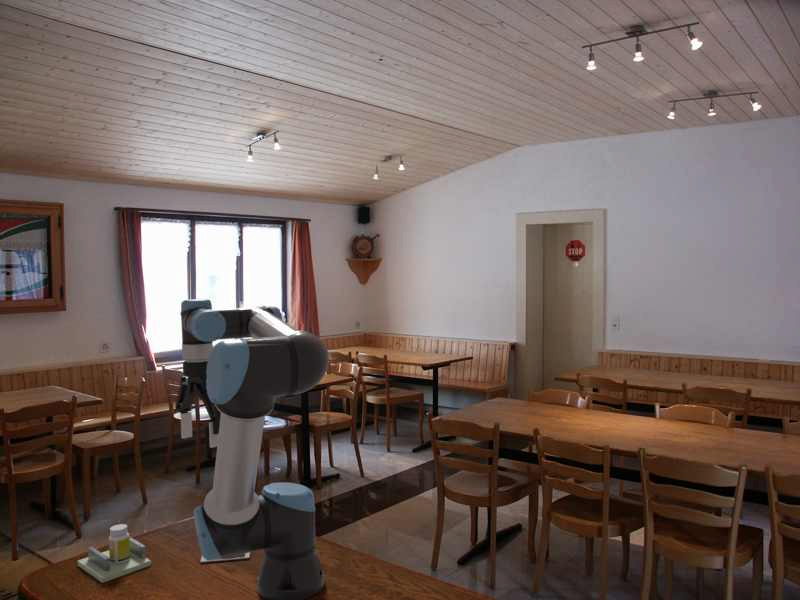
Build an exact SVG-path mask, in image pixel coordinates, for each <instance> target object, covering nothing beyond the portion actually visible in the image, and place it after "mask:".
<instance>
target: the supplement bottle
mask: <svg viewBox="0 0 800 600" xmlns="http://www.w3.org/2000/svg"><path fill="white" fill-rule="evenodd" d="M109 534H110V535H109V536H108V550H109V556H110V563H112V564H121V563H125V562H127V561H128V560H129V559H130V537H131V536H130V533H129V532H128V525H127V524H124V523H120V524H115V525H112V526H111V527H110V528H109Z"/></svg>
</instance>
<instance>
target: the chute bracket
mask: <svg viewBox="0 0 800 600" xmlns="http://www.w3.org/2000/svg"><path fill="white" fill-rule="evenodd" d="M129 537H130V552H131V553H133V554H135V555H136V556H138V557H140V558H141V559H144V558H147V553H146V552H147V550H146V545H144V543H142V542H140V541H138V540H136V539H134V538H132V537H131V536H129ZM87 557H88V560H90V561H91V562H92V563H94V564H95V565H97V566H98V567H100V568H101V569H103V570H104V571H106V572H107V571H110V558H109V557H107V556H106V555H104V554H103V553H102V552H101V551H99V550H98V549H97V548H95V547H93V546H90V547H89V546H88V547H87Z"/></svg>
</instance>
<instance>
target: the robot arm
mask: <svg viewBox="0 0 800 600" xmlns="http://www.w3.org/2000/svg"><path fill="white" fill-rule="evenodd" d="M179 315H180V316H181V317H180V320H181V321H180V322H181V340H182V341H181V342H182V343H181V349H182V351H181V353H182V356H181V357H182V360H184V361H183V362H182V374H183V376H182V375H181V376H180V386H179V390H178V393H177V398H176V402H175V406H174V409H175V410H178V413H180V431H181V433H180V436H181V437H180V438H181V439H188V438H192V437H193V418H192V417H193V416H192V411H193V410H192V406H193V404H194V402H195V400H196V398H198V399H200V400H201V401H202V404H203V405H204V408H205V410H206V412H207V414H208V416H209V420H208V428H209V429H208V431H209V432H208V433H209V434H208V435H209V438H208V439H209V448H210V449H212V448H213V449H214V448H216V456H215V465H214V473H213V474H214V475H213V482H212V483H213V485H212V489H211V490H210V491H209V492H208V493H207V494H206V496H205V497H204V501H203V504H200V505H197V506H195V507H194V509H193V519H194V525H195V526H194V527H195V532H196V538H197V541H198V547H199V549H200V550H199V551H200V553H201V557H202V556H203V557H204V558H205V559H206V561H208V560H209V561H211V560H219V559H229V558H233V557H236V556H240V555H243V554H244V555H245V553H249V552H250V553H254V552H258V551H260V550H261V551H262V550H264V554H263V559H262V562H261V566H260V570H259V573H258V576H257V579H256V580H257V582H256V583H257V584H256V585H257V586H256V587H257V588H256V589H257V593H258V595H259V596H261V598H262V599H263V598H264V599H265V600H306V599H309V598H311V597H313V596H316V595H317V594H318V593H320V592H321V590H322V589H323V588H324V585H325V574H324V570H323V567H322V565H321V562H320V559H319V556H318V553H317V550H316V546H317V545H316V506H315V505H316V504H315V496H314V492H313V491H312V490H311V488H309V487H307V486H305V485H303V484H300V483H299V484H298V483H294V482H283V481H282V482H272V483H269V484H267V485H266V484H265V486H263V487H262V490H261V494H259V495H258V494H257V493H256V492H255V491H256V490H255V488H256V483H257V475H258V469H259V467H258V466H259V461H260V455H261V454H260V453H261V447H262V440H263V433H264V426H265V420H266V417H267V416H268V415H269V414H270V413H271V412H273V409H274V408H275V405H276V404H275V403H276V399H277V398H278V397H279V398H280V397H286V396H287V397H288V396H294V395H300V394H302V393H305V392H308V391H309V390H312V389H313V388H314V387H315V386H317V385H319V383H320V382H321V381H322V379H323V378H324V377H325V375H326V373H327V371H328V368H329V365H330V364H329V363H330V354H329V351H328V348H327V346H326V343H324V341H323V340H322V339H320V338H319V337H318V336H317V335H315V334H314V333H312V332H310V331H307V330H298V329H297V328H296V327H294V326H292V325H290V324H289V323H287V322H286V321H284V320H283V315H282V312H281V310H280V308H278V307H277V306H268V305H262V306H251V307H249V306H247V307H231V308H230V307H225V308H213V306H212V301H211V300H210V299H208V298H207V299H206V298H197V299H196V298H195V299H184V300H183V301H182V302H181V303H180V314H179ZM218 340H221V341H219V342H218V343H215V344H213V342H216V341H218Z"/></svg>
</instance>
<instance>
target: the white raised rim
mask: <svg viewBox="0 0 800 600" xmlns="http://www.w3.org/2000/svg"><path fill="white" fill-rule="evenodd" d="M250 557H251V552H249V553H245V554H244V556H243V557H234V558H233V557H230V558H224V559H217V560H211V561H209V560H206V559H205V558H204V557H203V556H202V555H201V558H200V562H199V563H213V562H222V561H223V562H224V561H225V562H226V561H237V560H244V559H245V560H246V559H249V558H250Z"/></svg>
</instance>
